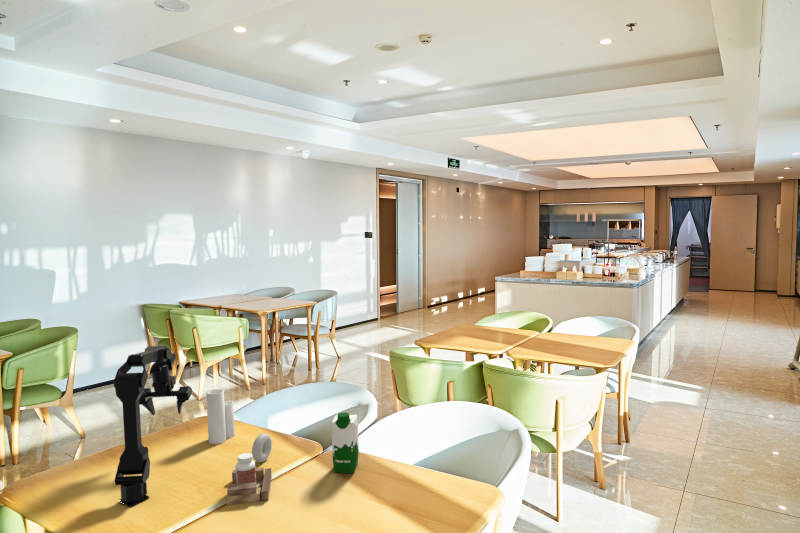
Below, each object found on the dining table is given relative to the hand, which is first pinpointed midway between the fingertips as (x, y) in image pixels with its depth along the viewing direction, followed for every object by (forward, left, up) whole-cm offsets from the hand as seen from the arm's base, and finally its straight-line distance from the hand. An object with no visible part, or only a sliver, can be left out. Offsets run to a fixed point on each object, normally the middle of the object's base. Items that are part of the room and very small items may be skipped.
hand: (167, 414), depth 202 cm
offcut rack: (-5, -48, -15) cm, 50 cm away
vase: (+20, -6, -16) cm, 26 cm away
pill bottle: (-5, -46, -16) cm, 49 cm away
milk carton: (+23, -66, -16) cm, 71 cm away
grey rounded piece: (+13, -36, -16) cm, 41 cm away
